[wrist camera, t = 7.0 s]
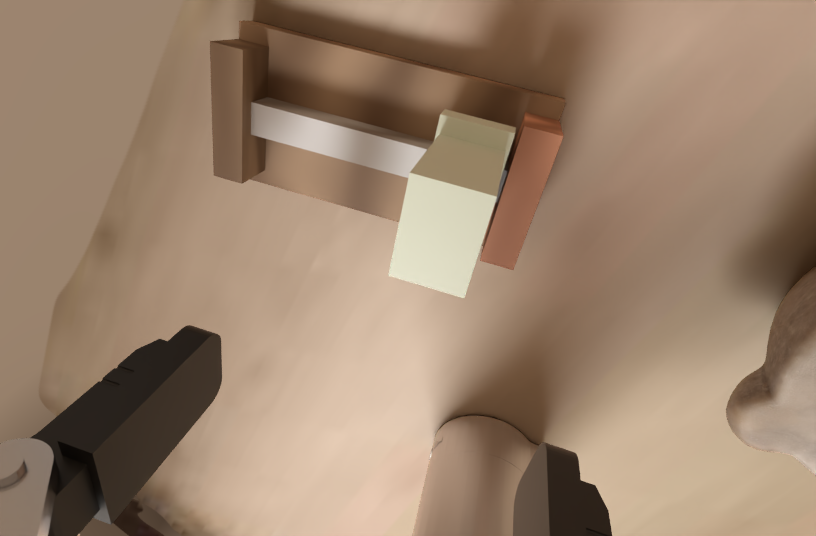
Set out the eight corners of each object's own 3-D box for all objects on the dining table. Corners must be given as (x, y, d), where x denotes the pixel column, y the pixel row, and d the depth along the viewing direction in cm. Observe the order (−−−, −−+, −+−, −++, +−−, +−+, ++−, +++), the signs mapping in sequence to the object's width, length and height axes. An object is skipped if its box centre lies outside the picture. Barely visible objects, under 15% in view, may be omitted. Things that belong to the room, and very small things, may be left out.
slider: (516, 120, 26) (509, 174, 17) (482, 228, 30) (462, 317, 21) (449, 103, 26) (409, 147, 18) (424, 211, 30) (380, 292, 21)
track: (564, 98, 27) (571, 116, 22) (511, 244, 32) (507, 283, 27) (252, 20, 29) (197, 21, 24) (249, 170, 34) (204, 194, 29)
